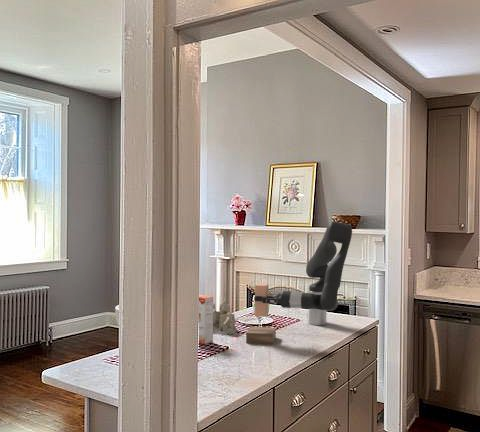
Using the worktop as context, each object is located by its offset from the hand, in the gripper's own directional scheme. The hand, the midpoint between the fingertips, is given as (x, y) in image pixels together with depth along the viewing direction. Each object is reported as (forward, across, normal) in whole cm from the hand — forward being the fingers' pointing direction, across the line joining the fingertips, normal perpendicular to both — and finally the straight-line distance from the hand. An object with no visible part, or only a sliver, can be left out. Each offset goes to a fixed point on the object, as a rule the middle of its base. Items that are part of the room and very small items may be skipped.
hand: (256, 297), depth 227 cm
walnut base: (-3, 0, +20) cm, 20 cm away
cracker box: (+25, +11, +20) cm, 33 cm away
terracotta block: (-3, 0, +8) cm, 8 cm away
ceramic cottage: (+22, -10, +20) cm, 31 cm away
